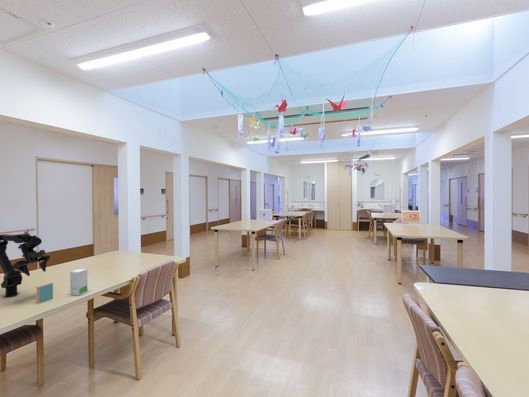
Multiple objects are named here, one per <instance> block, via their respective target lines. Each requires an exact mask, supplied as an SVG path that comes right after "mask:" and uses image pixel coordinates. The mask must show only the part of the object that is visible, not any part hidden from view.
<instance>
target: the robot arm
mask: <svg viewBox="0 0 529 397" xmlns="http://www.w3.org/2000/svg"><path fill="white" fill-rule="evenodd" d="M9 242H13V243H15V244H19V245H18V247H17V249H20V251H21V252H22V256H21V258H24V259H22V260H19V261H16V262H14V263H13V264H12V262H11V260H10V259H9V256H8V254H7V252H6V251H7V247H8V246H7V245H8V243H9ZM41 244H42V239H41V238H40V237H37V235H36V234H35V235H31V233H21V234H6V233H4V234H3V233H1V234H0V267H1V269H2V270H3V273H4V276H3V281H2V282H1V283H0V288H1V289H5V290H4V291H5V292H4V293H5V294H4V296H3V298H5V299H6V298H9V297H10V298H11V297H17V296H18V295H19V294H20V292H19V291H18V286H19V285H22V281H23V276H22V275H23V274H25V275H26V276H27V277H30V275H31V274H30V273H31V272H29V268H28V265H29V264H34V263H37V262H38V265H39V267H40V268H41V270H42V272H46V269H47V267H46V266H47V263H48V261H49V260H50V259H51V256H50V255H49V254H46V251H45V249H40V250H39V251H37V250H35V248H37V247H38V246H40V245H41ZM21 272H22V273H23V274H22V273H21Z"/></svg>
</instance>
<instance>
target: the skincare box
mask: <svg viewBox="0 0 529 397" xmlns="http://www.w3.org/2000/svg"><path fill="white" fill-rule="evenodd" d="M69 274H70V276H69V277H70V278H69V279H70V280H69V281H70V282H69V283H70V286H69V287H70V288H69V290H70V291H69V292H70V296H80V295H82V294H85V293H87V292H88V288H89V287H88V268H78V269H75V270H72V271H70V272H69Z"/></svg>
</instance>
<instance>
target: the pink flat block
mask: <svg viewBox="0 0 529 397" xmlns="http://www.w3.org/2000/svg"><path fill="white" fill-rule="evenodd" d="M53 287H54V283H53V282H47V283H45V284H41V285H38V286H36V303H37V304H41V303H44V302H46V301H50V300H53V298H54V288H53Z"/></svg>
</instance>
